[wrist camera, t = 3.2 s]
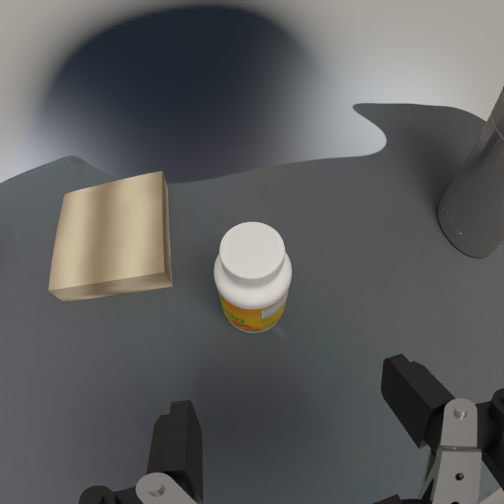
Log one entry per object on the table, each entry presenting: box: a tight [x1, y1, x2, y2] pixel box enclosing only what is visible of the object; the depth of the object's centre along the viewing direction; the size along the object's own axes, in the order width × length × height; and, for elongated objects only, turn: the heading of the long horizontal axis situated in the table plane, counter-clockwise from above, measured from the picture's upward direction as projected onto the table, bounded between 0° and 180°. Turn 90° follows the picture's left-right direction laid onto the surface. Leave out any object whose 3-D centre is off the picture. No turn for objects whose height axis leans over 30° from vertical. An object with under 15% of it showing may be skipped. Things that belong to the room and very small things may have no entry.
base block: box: [48, 171, 173, 302], centre depth 30 cm, size 12×12×3 cm
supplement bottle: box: [214, 222, 292, 333], centre depth 23 cm, size 5×5×10 cm
